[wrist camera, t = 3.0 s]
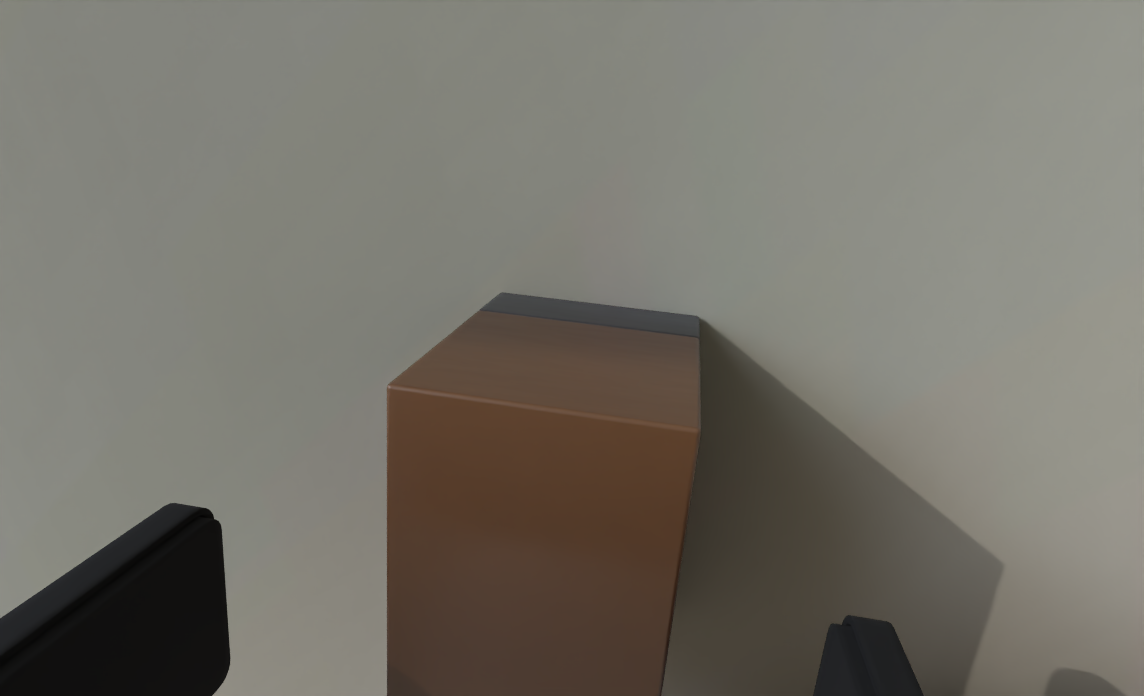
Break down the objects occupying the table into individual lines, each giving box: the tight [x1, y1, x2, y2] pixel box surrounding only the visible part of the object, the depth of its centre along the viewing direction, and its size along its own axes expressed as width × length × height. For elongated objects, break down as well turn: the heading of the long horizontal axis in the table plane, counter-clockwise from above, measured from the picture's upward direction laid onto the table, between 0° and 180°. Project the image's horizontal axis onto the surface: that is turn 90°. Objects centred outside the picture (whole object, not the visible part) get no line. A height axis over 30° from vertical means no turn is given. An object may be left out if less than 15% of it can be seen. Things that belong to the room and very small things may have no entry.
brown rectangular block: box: [387, 293, 701, 696], centre depth 12 cm, size 7×4×6 cm, turn 175°
